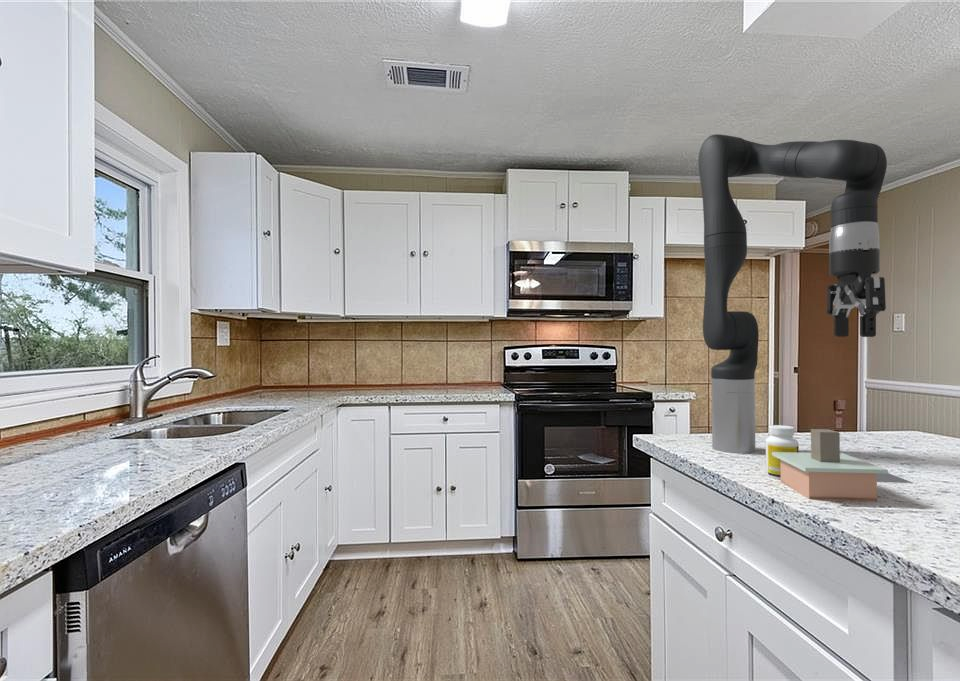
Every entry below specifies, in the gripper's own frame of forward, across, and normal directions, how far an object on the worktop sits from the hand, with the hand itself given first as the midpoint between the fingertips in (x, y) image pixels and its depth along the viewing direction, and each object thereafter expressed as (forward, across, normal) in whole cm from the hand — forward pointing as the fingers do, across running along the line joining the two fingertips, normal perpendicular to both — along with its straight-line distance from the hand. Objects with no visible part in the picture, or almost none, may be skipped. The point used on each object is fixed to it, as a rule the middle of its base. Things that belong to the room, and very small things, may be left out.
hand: (854, 336), depth 93 cm
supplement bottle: (+27, +1, -13) cm, 30 cm away
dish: (+26, +10, -10) cm, 30 cm away
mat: (+27, -3, +2) cm, 27 cm away
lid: (+22, +10, -10) cm, 26 cm away
